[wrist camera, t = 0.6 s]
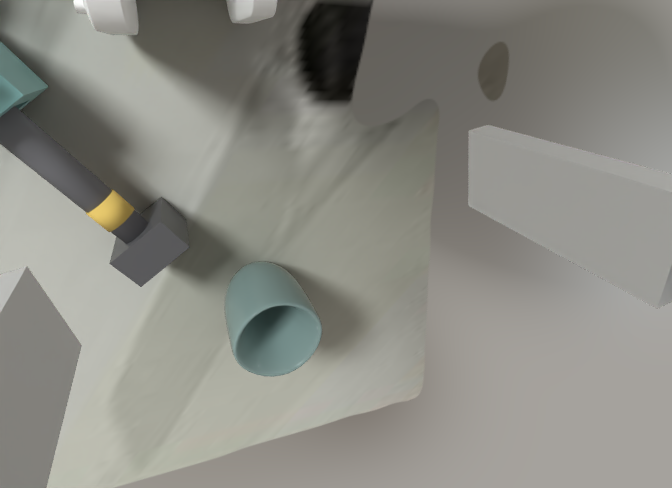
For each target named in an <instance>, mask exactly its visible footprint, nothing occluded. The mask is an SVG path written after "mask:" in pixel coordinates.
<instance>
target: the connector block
mask: <svg viewBox="0 0 672 488" xmlns="http://www.w3.org/2000/svg"><path fill="white" fill-rule="evenodd" d="M140 215H141V216H142V217H143V218H144V219H146V220H147V221H148V225H147V227H146V228H145V230H144V231H143V232H142V233H141V234H140V235H139V236H138V237H137V238H136V239H134V240H133V241H132V242H130V243H128V244H125V243H124V242H123V241H122V240H120V239H119V238H118V237H116V241H115V245H114V249H113V252H112V256H111V260H110V264H111V265H112V266H113V267H115V268H116V269H117V270H119V271H120V272H121V273H123V274H124V275H126V276H127V277H128V278H130V279H131V280H132V281H134V282H135V283H136V284H138V285H139V286H140V287H142V286H143V285H144V284H145V283H146V282H148V281H149V280H150V279H151V278H153V277H154V276H155V275H156V274H157V273H159V272H160V271H161V270H162V269H164V268H165V267H166V266H167V265H168V264H170V263H171V262H172V261H173V260H174V259H176V258H177V257H178V256H179V255H181V254H182V253H183V252H184V251H185V250H187V249H188V248H189V239H188V230H187V222H186V219H185V218H184V217H183V216H181V215H180V214H179V213H178V212H177V211H176V210H175V209H174V208H173V207H172V206H171V205H170V204H169V203H168V202H166V201H165V200H164V199H163V198H162V197H161V198H160V199H158V200H157V201H156V202H155V203H153V204H152V205H151V206H150V207H149V208H147V209H146V210H145V211H144V212H142V213H141V214H140Z"/></svg>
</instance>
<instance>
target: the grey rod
mask: <svg viewBox="0 0 672 488" xmlns="http://www.w3.org/2000/svg"><path fill="white" fill-rule="evenodd" d="M0 144H1V145H3V146H4V147H5V148H6V149H8V150H9V151H10V152H11V153H13V154H14V155H15V156H17V157H18V158H19V159H20V160H22V161H23V162H24V163H25V164H27V165H28V166H29V167H30V168H32V169H33V170H34V171H35V172H37V173H38V174H39V175H40V176H42V177H43V178H44V179H45V180H47V181H48V182H49V183H50V184H52V185H53V186H54V187H55V188H57V189H58V190H59V191H60V192H62V193H63V194H64V195H65V196H67V197H68V198H69V199H70V200H72V201H73V202H74V203H75V204H77V205H78V206H79V207H80V208H82V209H83V210H84V211H85V212H86V214H87V215H88V216H89V217H91V218H92V219H93V220H94V221H96V222H97V223H98V224H99V225H101V226H102V227H103V228H104V229H106V230H107V231H108V232H112V233H113V234H114V235H115V236H117V237H118V238H119V239H120V240H122V241H123V242H124V243H125V244H128V243H130V242H132V241H133V240H134V239H136V238H137V237H138V236H139V235H140V234H141V233H142V232H143V231H144V230H145V228H146V227H147V225H148V221H147V220H146V219H144V218H143V217H142V216H141V215H140V214H139V213H138V212H136V211H135V210H134V207H133V206H131V205H130V204H129V203H128V202H127V201H126V200H125V199H123V198H122V197H121V196H120V195H119V194H118V193H117V192H115V191H114V190H113V189H112V190H111V189H110V188H109V187H108V186H106V185H105V184H104V183H103V182H102V181H101V180H99V179H98V178H97V177H96V176H95V175H94V174H93V173H91V172H90V171H89V170H88V169H87V168H86V167H85V166H83V165H82V164H81V163H80V162H79V161H78V160H76V159H75V158H74V157H73V156H72V155H71V154H70V153H68V152H67V151H66V150H65V149H64V148H63V147H61V146H60V145H59V144H58V143H57V142H56V141H55V140H53V139H52V138H51V137H50V136H49V135H48V134H46V133H45V132H44V131H43V130H42V129H41V128H40V127H38V126H37V125H36V124H35V123H34V122H33V121H32V120H30V119H29V118H28V117H27V116H26V115H25V114H23V113H22V112H21V111H20V110H19V109H18V108H17V107H15V106H13V107H12V108H11V109H10V110H8V111H7V112H6V113H5V114H4V115H2V116H1V117H0Z"/></svg>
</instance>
